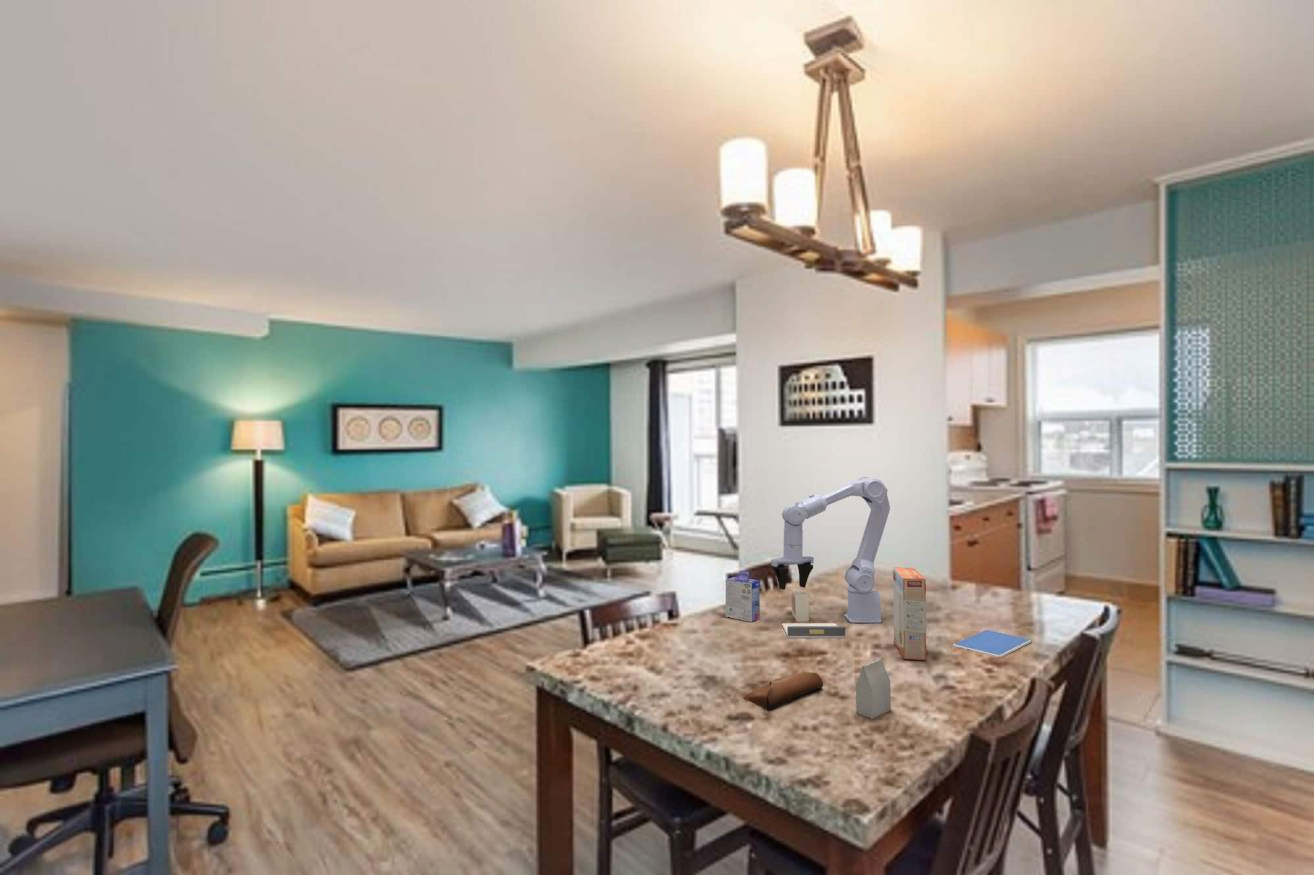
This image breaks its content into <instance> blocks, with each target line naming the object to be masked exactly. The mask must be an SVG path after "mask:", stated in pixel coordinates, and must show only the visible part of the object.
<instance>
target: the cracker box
mask: <svg viewBox="0 0 1314 875" xmlns="http://www.w3.org/2000/svg"><path fill="white" fill-rule="evenodd" d="M892 579H893V581H892V585H893V586H892V587H893V588H892V589H893V591H892V592H893V597H892V599H893V642H894V645H895V646H896V649H897V650H898V651H899V653H900V656H901V657H902V659H903V660H911V661H912V660H913V661H927V584H926V583H927V582H926V581H927V579H926V578H925V576H923V575H922V574H921V573H920V572H919V571H917V569H915V568H914V567H893V569H892Z"/></svg>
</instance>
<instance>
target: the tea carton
mask: <svg viewBox="0 0 1314 875" xmlns="http://www.w3.org/2000/svg"><path fill="white" fill-rule="evenodd" d="M809 598H810V597H809V594H808V592H807V591H806V590H805V589H792V590H791V612H792V613H791V615H792V617H793V616H794V617H793V618H795V619H796V620H795V619H794V620H795V622H809V621H810V614H809V613H810V609H809V608H810V602H809V601H810V600H809ZM808 620H809V621H808Z"/></svg>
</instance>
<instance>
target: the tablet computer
mask: <svg viewBox="0 0 1314 875" xmlns="http://www.w3.org/2000/svg"><path fill="white" fill-rule="evenodd" d="M1029 644H1032V640H1031V639H1029V638H1026V637H1023V636H1021V637H1020V636H1017V635H1012V634H1007V633H1003V632H998V631H994V630H990V629H985V630H982V631H979V632H978V633H975V634H973V635H971V636H969V637H967V638H964V639H961V640H959V641H957V642H954V643H953V645H952V646H953V647H954V646H956V647H955V648H958V649H962V648H964V649H963V650H966V651H970V650H971V651H970V652H974V653H977V652H979V653H978V654H981V653H982V655H985V654H987V655H986V656H989V655H990V657H993V656H995V657H994V658H997V657H1002V658H1003V657H1006V656H1007V655H1009V654H1012V653H1013V652H1014V651H1017V650H1019V649H1020V648H1023V647H1025V646H1027V645H1029Z"/></svg>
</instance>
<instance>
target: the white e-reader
mask: <svg viewBox="0 0 1314 875" xmlns="http://www.w3.org/2000/svg"><path fill="white" fill-rule="evenodd" d="M781 626H783V627H782V628H784V629H783V630H785V631H784V633H785V632H786V633H785V634H787V635H786V636H788V637H787V638H788V639H846V627H845V626H844V625H837V623H835V622H834V623H831V622H830V623H829V622H827V623H825V622H823V623H821V622H820V623H818V622H817V623H815V622H814V623H813V622H812V623H811V622H809V623H807V622H806V623H801V622H800V623H799V622H798V623H794V622H793V623H784V622H783V623H781Z"/></svg>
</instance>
